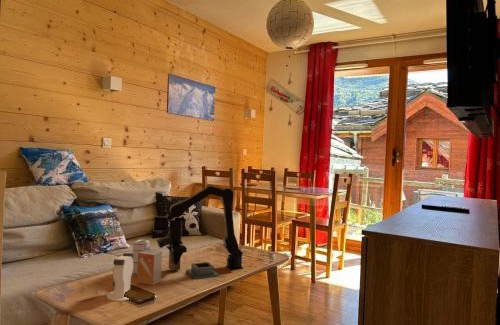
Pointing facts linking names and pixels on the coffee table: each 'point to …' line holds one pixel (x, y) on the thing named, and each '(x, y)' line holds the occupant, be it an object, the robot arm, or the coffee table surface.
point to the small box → (149, 267)
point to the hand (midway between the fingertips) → (174, 263)
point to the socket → (202, 270)
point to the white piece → (121, 277)
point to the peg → (171, 262)
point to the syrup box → (137, 248)
